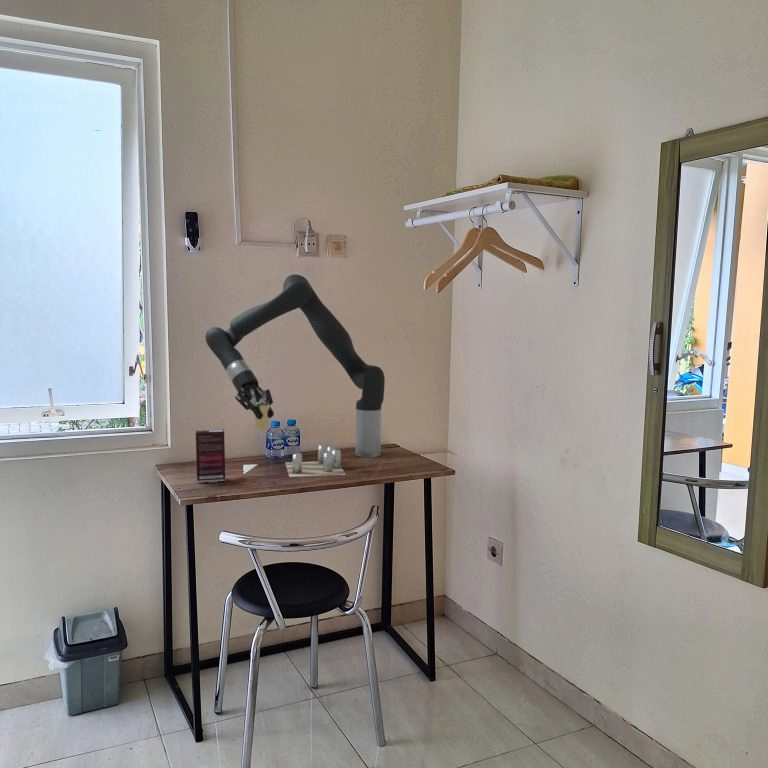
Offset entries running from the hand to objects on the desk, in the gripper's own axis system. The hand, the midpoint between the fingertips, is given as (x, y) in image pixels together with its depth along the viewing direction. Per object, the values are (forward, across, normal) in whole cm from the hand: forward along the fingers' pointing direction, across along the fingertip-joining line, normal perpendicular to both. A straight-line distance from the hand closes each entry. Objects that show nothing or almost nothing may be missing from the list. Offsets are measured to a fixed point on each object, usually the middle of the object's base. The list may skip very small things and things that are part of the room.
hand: (266, 416), depth 225 cm
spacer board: (+20, +12, +6) cm, 24 cm away
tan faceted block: (+2, 0, +4) cm, 5 cm away
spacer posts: (+19, +13, +6) cm, 24 cm away
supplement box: (+10, -18, +17) cm, 27 cm away
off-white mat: (+11, 0, +15) cm, 19 cm away
